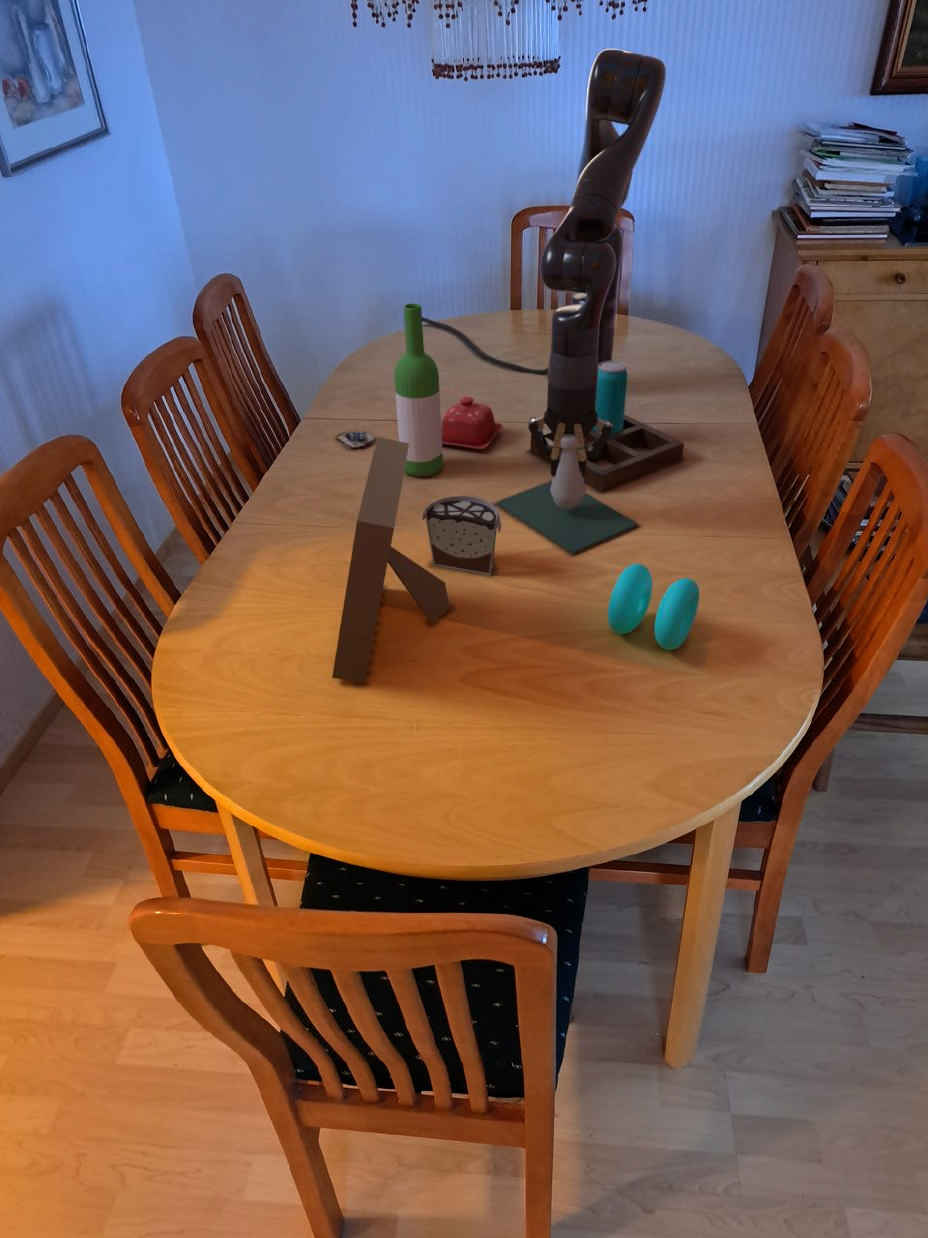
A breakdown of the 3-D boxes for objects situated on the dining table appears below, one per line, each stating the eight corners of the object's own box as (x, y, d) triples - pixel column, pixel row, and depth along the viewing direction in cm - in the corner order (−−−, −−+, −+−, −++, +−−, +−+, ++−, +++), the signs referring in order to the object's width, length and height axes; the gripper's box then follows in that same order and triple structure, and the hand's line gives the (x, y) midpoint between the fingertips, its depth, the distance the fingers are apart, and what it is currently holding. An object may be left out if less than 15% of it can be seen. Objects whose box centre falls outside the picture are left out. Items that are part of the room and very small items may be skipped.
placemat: (496, 504, 155) (496, 501, 155) (559, 480, 162) (559, 477, 161) (573, 554, 142) (573, 551, 142) (637, 526, 148) (637, 523, 148)
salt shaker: (584, 494, 152) (589, 423, 145) (585, 511, 148) (589, 439, 140) (550, 493, 153) (552, 422, 145) (549, 510, 148) (551, 438, 141)
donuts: (670, 666, 120) (679, 606, 114) (601, 643, 124) (606, 584, 118) (696, 627, 127) (706, 568, 121) (631, 606, 131) (637, 548, 125)
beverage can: (625, 436, 175) (632, 362, 166) (616, 449, 171) (622, 373, 162) (597, 431, 177) (602, 357, 168) (587, 444, 173) (592, 368, 164)
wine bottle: (451, 467, 167) (445, 304, 148) (422, 483, 162) (411, 316, 144) (422, 455, 171) (412, 295, 153) (392, 470, 166) (379, 306, 148)
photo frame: (332, 683, 119) (308, 520, 104) (354, 588, 136) (336, 437, 121) (444, 683, 118) (436, 520, 103) (451, 588, 136) (445, 436, 121)
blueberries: (358, 452, 172) (357, 443, 171) (328, 442, 176) (327, 433, 175) (381, 439, 177) (380, 430, 176) (351, 429, 181) (350, 420, 179)
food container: (511, 555, 142) (511, 500, 136) (499, 576, 138) (499, 520, 132) (438, 543, 146) (435, 489, 140) (424, 563, 141) (421, 508, 135)
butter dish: (429, 446, 174) (427, 405, 168) (452, 422, 182) (450, 382, 177) (484, 455, 170) (484, 413, 165) (505, 430, 178) (505, 389, 173)
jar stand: (530, 451, 171) (530, 434, 169) (608, 423, 180) (609, 407, 178) (601, 492, 158) (603, 474, 156) (682, 459, 167) (684, 442, 165)
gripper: (619, 369, 139) (611, 469, 150) (529, 366, 141) (527, 465, 152) (618, 389, 133) (610, 491, 144) (524, 385, 135) (522, 486, 146)
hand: (567, 477), depth 148 cm, fingers closed on salt shaker, 3 cm apart
